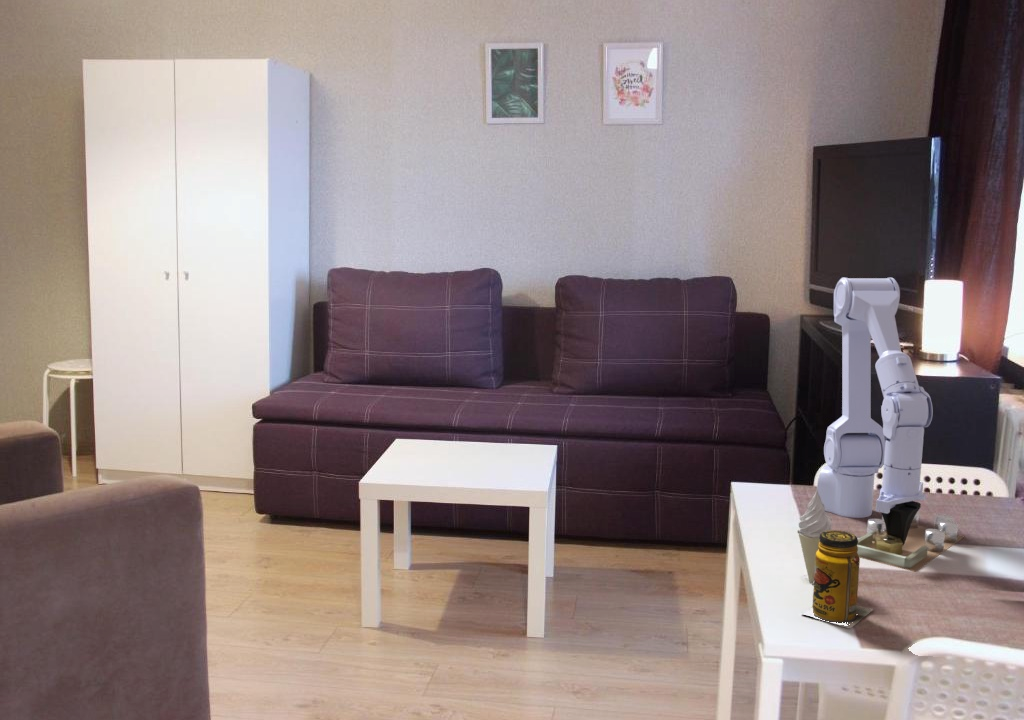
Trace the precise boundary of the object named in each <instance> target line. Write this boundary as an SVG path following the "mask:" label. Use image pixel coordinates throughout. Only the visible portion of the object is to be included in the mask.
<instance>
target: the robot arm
mask: <svg viewBox="0 0 1024 720" xmlns="http://www.w3.org/2000/svg"><path fill="white" fill-rule="evenodd" d="M900 297H901V289H900V285H899V283H898V282H897V280H896V279H895V278H893V277H887V278H886V277H885V278H877V277H875V278H874V277H873V278H871V277H870V278H869V277H868V278H863V277H862V278H861V277H859V278H858V277H857V278H854V277H853V278H851V277H850V278H848V277H843V276H842V277H841V278H840V279H839V280H838V281H837V283H836V284H835V288H834V290H833V317H834V319H833V320H834V323H836V324H837V325H839V326H841V333H842V334H841V336H842V338H841V339H842V340H841V341H842V342H841V344H842V347H841V348H842V349H841V350H842V353H841V355H842V358H841V360H842V362H841V363H842V368H841V369H842V370H841V371H842V372H841V374H842V376H841V377H842V383H841V384H842V387H841V388H842V391H841V393H842V395H841V396H842V397H841V398H842V400H841V402H842V403H841V404H842V405H841V406H842V407H841V409H842V410H841V414H842V415H841V416H840V417H839V418H838V419H836V420H835V421H833V422H832V423H831V424H830V425H829V426H827V429H826V435H825V440H824V441H825V442H824V446H823V455H824V460H825V463H826V465H825V466H823V467H822V468H821V470H820V472H819V474H818V478H817V484H816V490H818V493H819V496H820V499H821V501H822V503H823V505H824V507H825V509H824V510H825V512H829V513H832V514H835V515H838V516H841V517H846V518H854V519H855V518H856V519H858V518H859V519H861V518H862V519H863V518H866V517H870V516H871V515H872V513H873V501H874V487H875V486H874V485H875V476H876V475H875V474H879V469H882V468H883V470H882V471H883V472H882V485H881V488H880V491H879V496H878V498H877V499H876V500H875V512H879V513H880V514H881V517H882V516H883V519H884V522H885V526H886V531H887V535H890V536H895V537H899V538H901V540H902V542H903V545H904V543H905V541H906V538H907V535H908V531H909V528H910V525H911V523H912V521H913V519H914V517H915V515H916V513H917V512H918V510H919V511H920V509H921V506H922V505H921V502H923V501H925V500H927V494H926V493H923V490H924V482H922V481H921V473H922V459H923V447H924V437H925V436H924V435H925V428H928V427H929V426H930V425H931V422H932V420H933V416H934V415H933V412H934V411H933V409H934V408H933V407H934V406H933V403H932V399H931V398H932V397H931V396H930V394H929V393H928V392H927V391H926V390H925V389H924V387H923V386H920V385H919V382H918V379H917V378H918V377H917V375H916V373H915V369H914V365H913V362H912V359H911V357H910V356H909V354H907V353H905V352H904V351H903V352H902V350H901V349H902V348H901V344H900V343H901V341H900V337H899V333H898V327H897V321H896V317H895V316H896V314H897V312H898V309H899V304H900V301H901V300H900ZM872 341H873V343H874V347H875V349H876V352H877V355H878V357H879V358H878V359H877V360H876V362H875V366H874V367H875V371H876V374H877V379H878V382H879V385H880V388H881V393H882V396H883V400H882V405H880V407H881V408H880V410H881V418H882V419H881V420H882V426H881V425H880V424H879V423H878V422H876V421H875V420H874V419H872V418H871V417H872V416H871V415H872V414H871V410H872V408H871V407H872V406H871V405H872V404H871V403H872V401H871V400H872V399H871V398H872V397H871V392H872V390H871V389H872V387H871V384H872V382H871V380H872V379H871V376H872V375H871V368H872V365H871V364H872V362H871V361H872V360H871V359H872V355H871V354H872V352H871V351H872V350H871V349H872V348H871V347H872V346H871V345H872V344H871V343H872ZM918 501H920V502H918ZM903 545H902V546H903Z"/></svg>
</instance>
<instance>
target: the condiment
mask: <svg viewBox="0 0 1024 720" xmlns="http://www.w3.org/2000/svg"><path fill="white" fill-rule="evenodd" d="M819 539H820V540H819V541H820V542H819V544H818V547H819V549H818V551H817V552H816V557H815V574H814V581H813V590H812V591H813V593H812V607H813V613H814V616H815V617H818V618H820V619H822V620H825V621H829V622H836V623H837V622H838V623H842V622H843V623H845V622H846V624H847V622H848V624H847V625H848V626H844V625H839V626H840V627H844V628H847V629H852V628H853V627H854V626H856V625H857V624H858V623H859V622H860V621H862V620H863V619H864V618H865V617H866V616H869V614H870V613H871V612H872V611H874V608H871V607H865V606H859V605H858V593H859V591H858V590H859V575H860V561H861V560H860V559H861V558H859V555H858V553H857V551H858V547H857V544H858V539H859V538H858V537H857V536H856V535H855V534H853V533H851V532H848V531H843V530H834V529H833V530H832V529H831V531H825V532H822V533H821V534H820V537H819ZM856 614H858V615H856ZM852 622H853V623H852ZM849 624H850V625H849Z"/></svg>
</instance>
